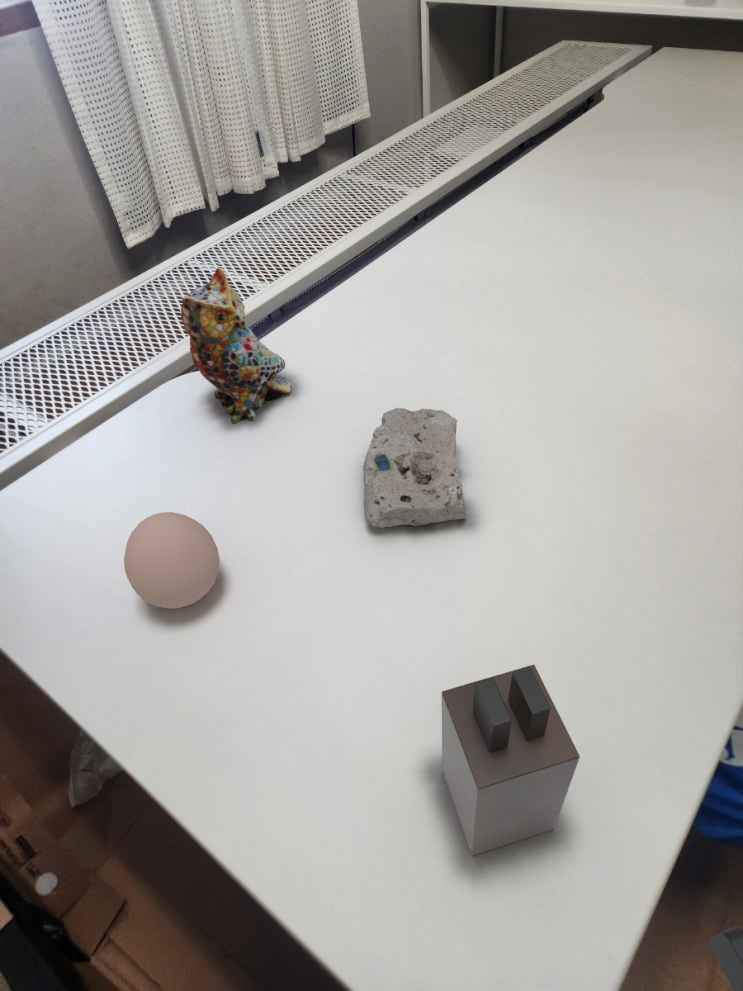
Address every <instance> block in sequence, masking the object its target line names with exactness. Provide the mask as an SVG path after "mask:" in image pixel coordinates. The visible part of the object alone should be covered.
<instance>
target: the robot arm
mask: <svg viewBox="0 0 743 991" xmlns="http://www.w3.org/2000/svg"><path fill="white" fill-rule="evenodd" d="M709 943H710V947H711V951H712V953H713V955H714V957H715V959H716V961H717V962H718V964H719V967H720V968H721V970H722V972H723V974H724V975H725V978H726V980H727V982H728V984H729V985H730V987H731V989H732V991H743V930H742V928H740V927H739V926H733V927H731V928H728V929H725V930H722V931H719V933H717V934H716V935H715V936H713V937H712V938H711V939H710V941H709Z"/></svg>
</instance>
